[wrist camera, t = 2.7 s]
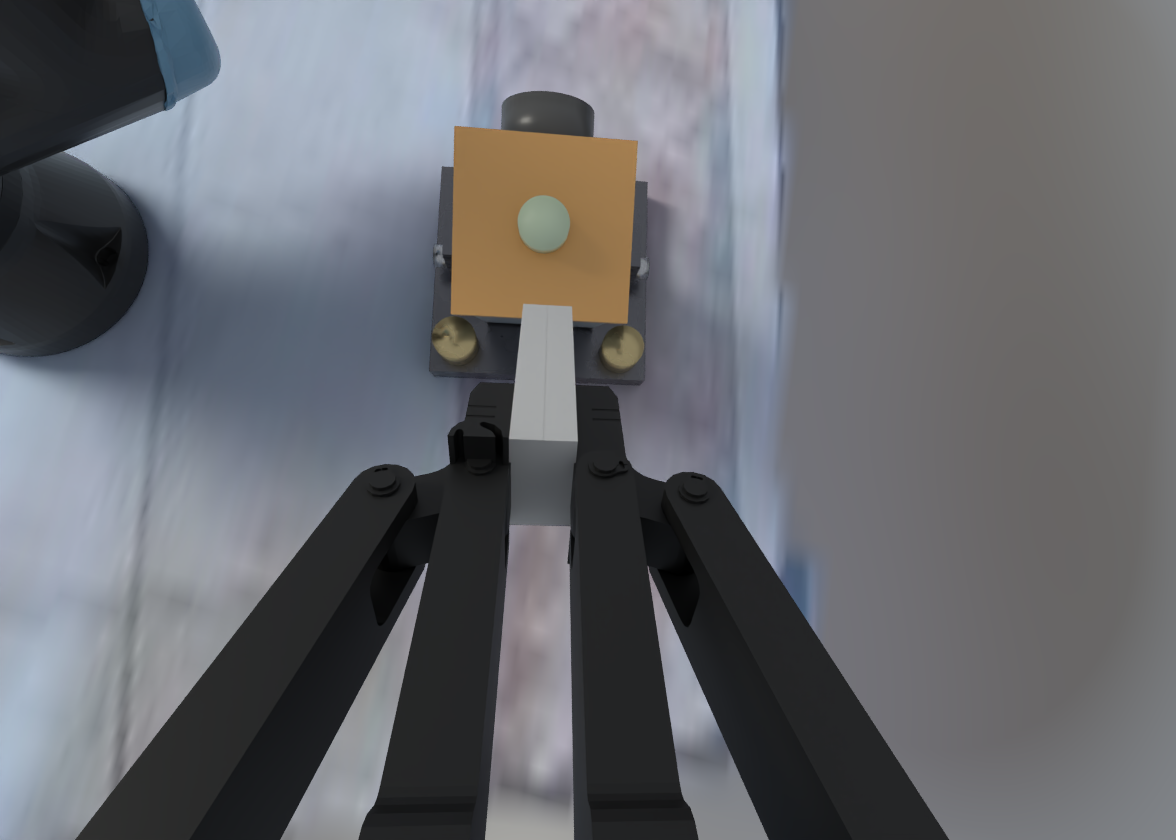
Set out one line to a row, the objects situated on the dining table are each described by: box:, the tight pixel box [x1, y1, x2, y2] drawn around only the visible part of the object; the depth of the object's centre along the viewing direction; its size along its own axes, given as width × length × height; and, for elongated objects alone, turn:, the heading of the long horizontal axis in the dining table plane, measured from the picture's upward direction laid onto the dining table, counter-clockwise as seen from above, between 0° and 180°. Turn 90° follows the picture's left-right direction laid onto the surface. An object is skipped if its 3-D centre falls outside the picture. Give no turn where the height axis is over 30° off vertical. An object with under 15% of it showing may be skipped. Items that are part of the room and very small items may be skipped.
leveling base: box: [429, 166, 649, 385], centre depth 42 cm, size 16×16×8 cm
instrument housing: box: [451, 91, 638, 328], centre depth 34 cm, size 11×9×16 cm
